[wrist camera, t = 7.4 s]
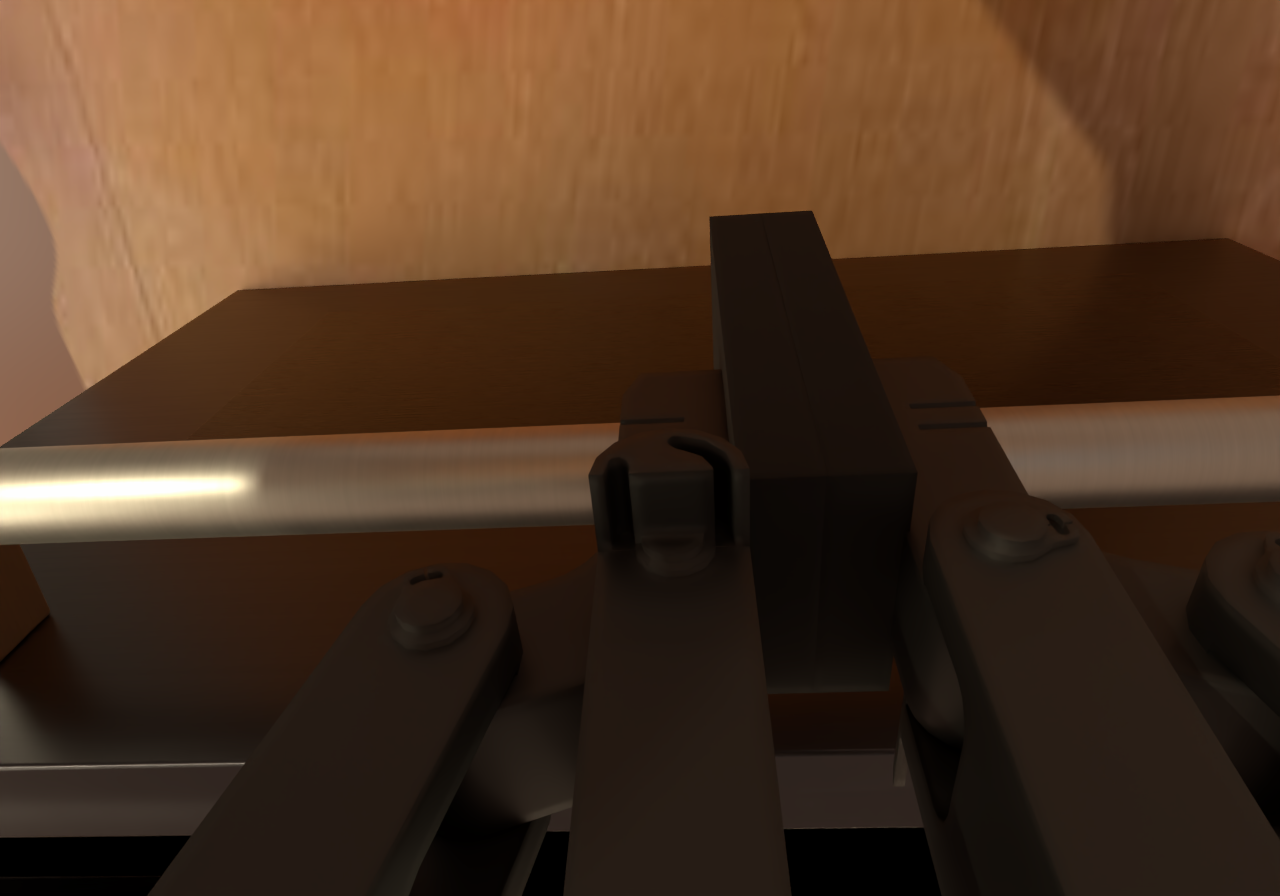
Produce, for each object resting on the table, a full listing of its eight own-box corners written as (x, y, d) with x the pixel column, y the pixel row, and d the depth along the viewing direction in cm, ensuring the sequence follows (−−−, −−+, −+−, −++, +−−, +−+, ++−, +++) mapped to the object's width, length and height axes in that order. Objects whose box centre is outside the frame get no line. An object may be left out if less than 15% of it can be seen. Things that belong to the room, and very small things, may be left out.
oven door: (210, 197, 35) (-687, 576, 12) (1253, 135, 32) (2662, 465, 9) (247, 326, 37) (-439, 844, 14) (1218, 278, 35) (2266, 814, 12)
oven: (251, 329, 38) (-323, 955, 16) (1214, 281, 35) (2092, 951, 13) (409, 786, 55) (240, 1377, 34) (1057, 776, 53) (1325, 1410, 31)
